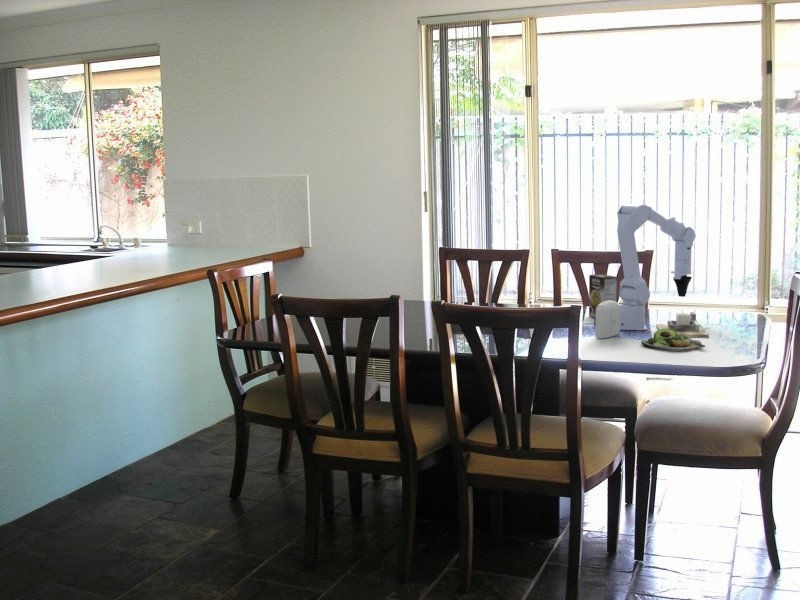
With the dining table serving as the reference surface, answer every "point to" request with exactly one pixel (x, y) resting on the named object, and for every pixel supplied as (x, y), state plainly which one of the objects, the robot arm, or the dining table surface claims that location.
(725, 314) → the dining table surface
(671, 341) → the salad plate
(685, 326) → the beige board
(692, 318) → the gate
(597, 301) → the coffee box
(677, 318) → the white cube block
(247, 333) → the dining table surface
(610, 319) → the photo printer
